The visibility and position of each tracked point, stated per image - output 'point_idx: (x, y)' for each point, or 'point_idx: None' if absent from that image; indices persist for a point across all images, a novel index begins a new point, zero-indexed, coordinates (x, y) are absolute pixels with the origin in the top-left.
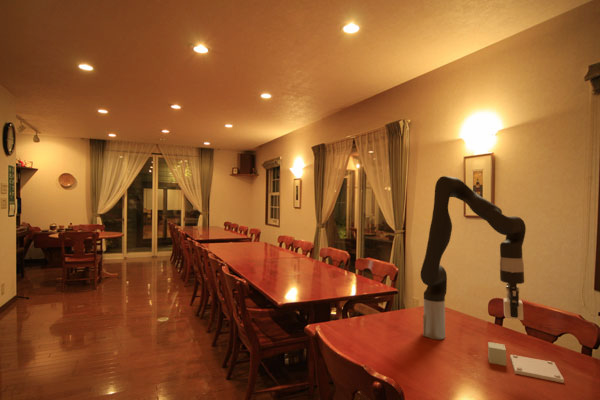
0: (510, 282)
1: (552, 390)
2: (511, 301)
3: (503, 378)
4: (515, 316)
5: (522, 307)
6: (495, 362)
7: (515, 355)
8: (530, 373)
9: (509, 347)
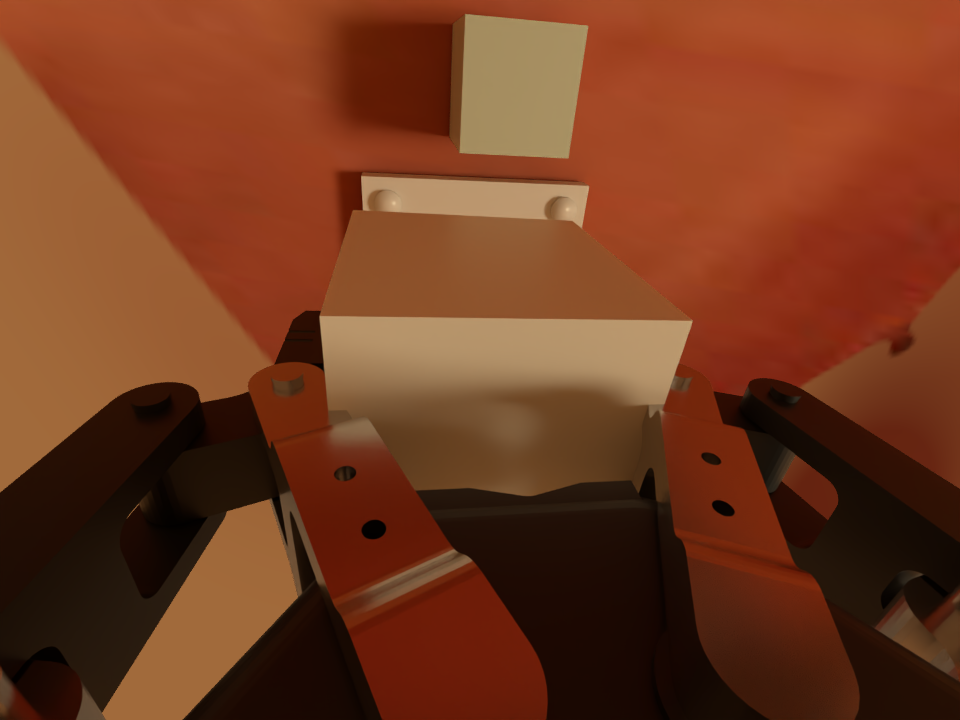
0: None
1: (268, 312)
2: (41, 485)
3: (254, 88)
4: None
5: None
6: (452, 69)
7: (568, 213)
8: None
9: (737, 201)
